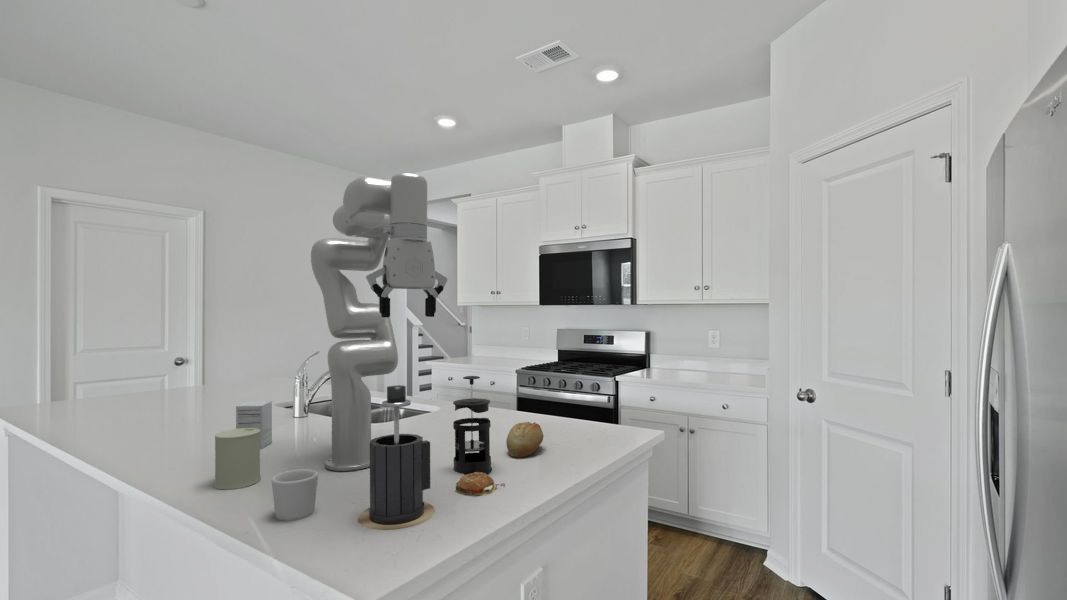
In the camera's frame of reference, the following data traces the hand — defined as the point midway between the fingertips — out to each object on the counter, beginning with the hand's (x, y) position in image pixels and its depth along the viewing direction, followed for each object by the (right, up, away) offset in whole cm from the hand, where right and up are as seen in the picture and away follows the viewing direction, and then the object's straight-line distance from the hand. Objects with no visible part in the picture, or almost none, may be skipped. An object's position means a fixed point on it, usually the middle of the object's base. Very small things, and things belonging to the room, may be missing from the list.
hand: (408, 316), depth 105 cm
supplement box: (-56, -40, +43) cm, 81 cm away
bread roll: (+24, -39, +34) cm, 57 cm away
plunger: (0, -34, -10) cm, 36 cm away
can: (-42, -39, +11) cm, 58 cm away
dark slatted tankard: (0, -37, -10) cm, 38 cm away
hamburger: (+15, -38, +4) cm, 41 cm away
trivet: (0, -38, -10) cm, 39 cm away
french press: (+12, -38, +18) cm, 44 cm away
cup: (-19, -38, -8) cm, 43 cm away
